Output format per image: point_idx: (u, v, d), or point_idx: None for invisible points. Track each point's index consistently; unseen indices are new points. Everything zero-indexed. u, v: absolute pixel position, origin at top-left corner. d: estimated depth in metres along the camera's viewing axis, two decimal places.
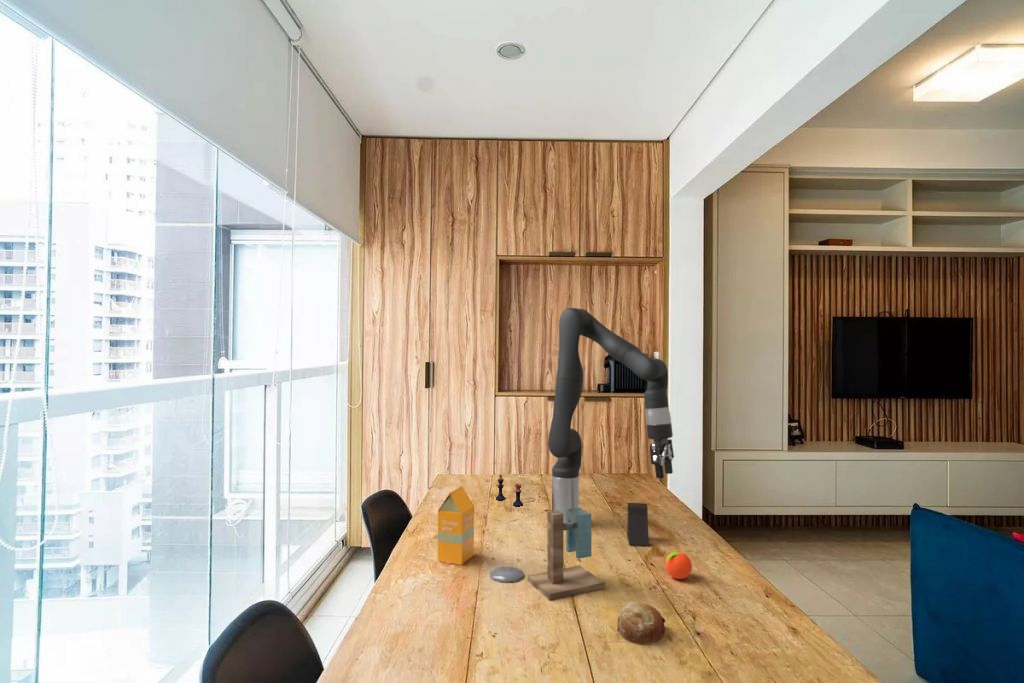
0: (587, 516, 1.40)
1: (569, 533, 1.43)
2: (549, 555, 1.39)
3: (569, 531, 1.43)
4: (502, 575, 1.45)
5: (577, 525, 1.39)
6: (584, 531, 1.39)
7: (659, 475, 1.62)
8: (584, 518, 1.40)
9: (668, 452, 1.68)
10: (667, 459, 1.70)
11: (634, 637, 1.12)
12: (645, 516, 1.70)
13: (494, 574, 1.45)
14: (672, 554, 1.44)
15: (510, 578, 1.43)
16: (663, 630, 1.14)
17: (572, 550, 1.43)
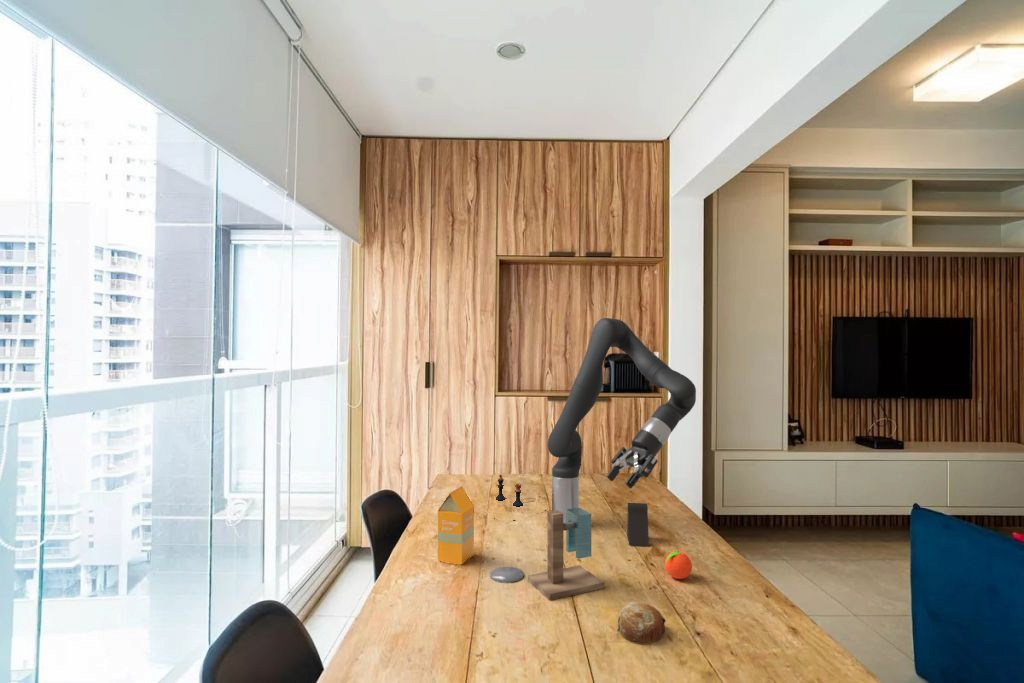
0: (587, 516, 1.40)
1: (569, 533, 1.43)
2: (549, 555, 1.39)
3: (569, 531, 1.43)
4: (502, 575, 1.45)
5: (577, 525, 1.39)
6: (584, 531, 1.39)
7: (632, 484, 1.43)
8: (584, 518, 1.40)
9: None
10: (618, 467, 1.53)
11: (634, 637, 1.12)
12: (645, 516, 1.70)
13: (494, 574, 1.45)
14: (672, 554, 1.44)
15: (510, 578, 1.43)
16: (663, 630, 1.14)
17: (572, 550, 1.43)
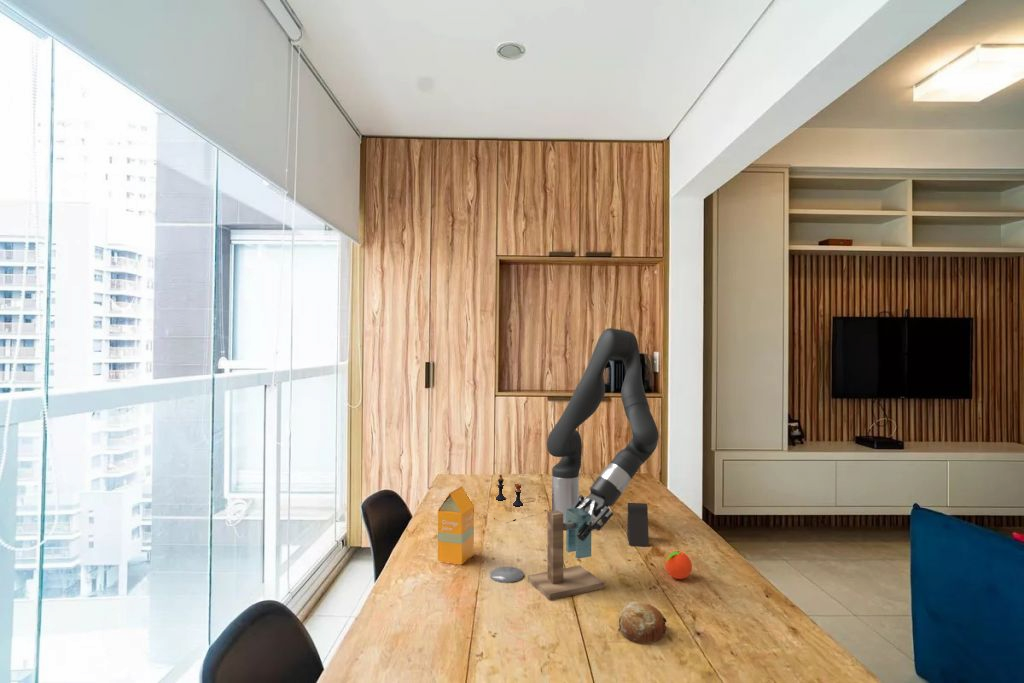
0: (587, 516, 1.40)
1: (569, 533, 1.43)
2: (549, 555, 1.39)
3: (569, 531, 1.43)
4: (502, 575, 1.45)
5: (577, 525, 1.39)
6: None
7: (584, 537, 1.38)
8: (584, 518, 1.40)
9: None
10: None
11: (635, 637, 1.12)
12: (645, 516, 1.70)
13: (494, 574, 1.45)
14: (672, 554, 1.44)
15: (510, 578, 1.43)
16: (664, 630, 1.15)
17: (572, 550, 1.43)
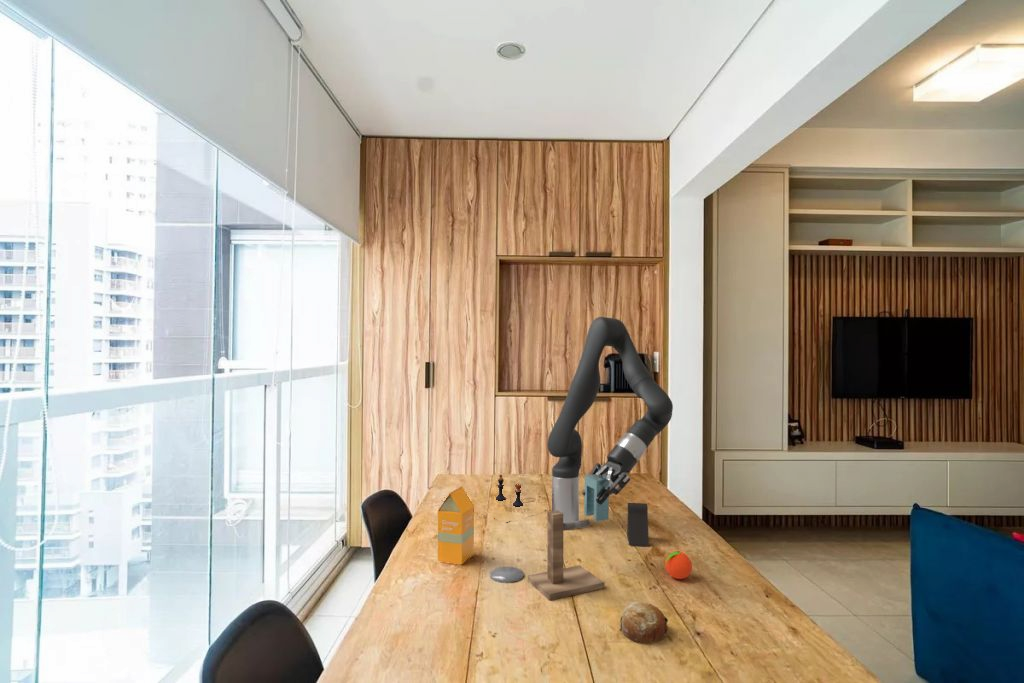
0: (605, 481, 1.47)
1: (587, 498, 1.50)
2: (549, 555, 1.39)
3: (587, 496, 1.50)
4: (502, 575, 1.45)
5: (596, 490, 1.46)
6: None
7: (602, 501, 1.45)
8: (603, 483, 1.46)
9: None
10: None
11: (637, 637, 1.12)
12: (645, 516, 1.70)
13: (494, 574, 1.45)
14: (672, 554, 1.44)
15: (510, 578, 1.43)
16: (666, 630, 1.15)
17: (590, 514, 1.50)
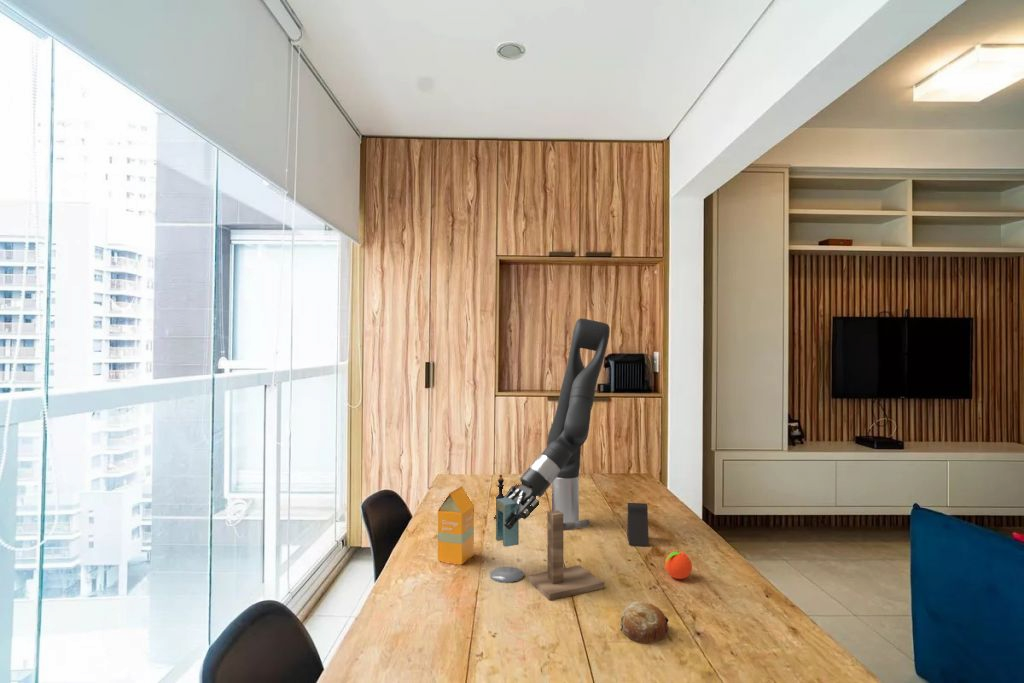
0: (514, 505, 1.44)
1: (498, 522, 1.47)
2: (549, 555, 1.39)
3: (498, 520, 1.47)
4: (502, 575, 1.45)
5: (504, 514, 1.43)
6: None
7: (510, 526, 1.42)
8: (511, 507, 1.43)
9: None
10: None
11: (637, 636, 1.13)
12: (645, 516, 1.70)
13: (494, 574, 1.45)
14: (672, 554, 1.44)
15: (510, 578, 1.43)
16: (666, 630, 1.15)
17: (501, 539, 1.47)
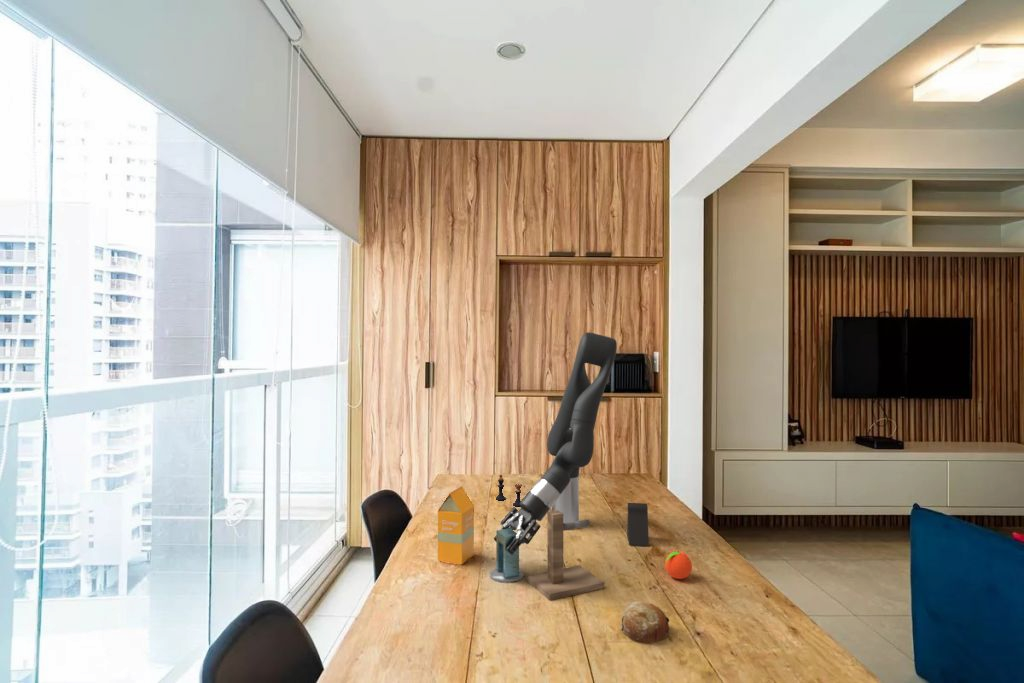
0: (515, 537, 1.44)
1: (499, 553, 1.47)
2: (549, 555, 1.39)
3: (499, 551, 1.47)
4: (502, 575, 1.45)
5: (504, 546, 1.43)
6: None
7: (513, 551, 1.41)
8: (512, 539, 1.43)
9: None
10: None
11: (638, 636, 1.13)
12: (645, 516, 1.70)
13: (494, 574, 1.45)
14: (672, 554, 1.44)
15: (510, 578, 1.43)
16: (667, 629, 1.15)
17: (502, 570, 1.47)
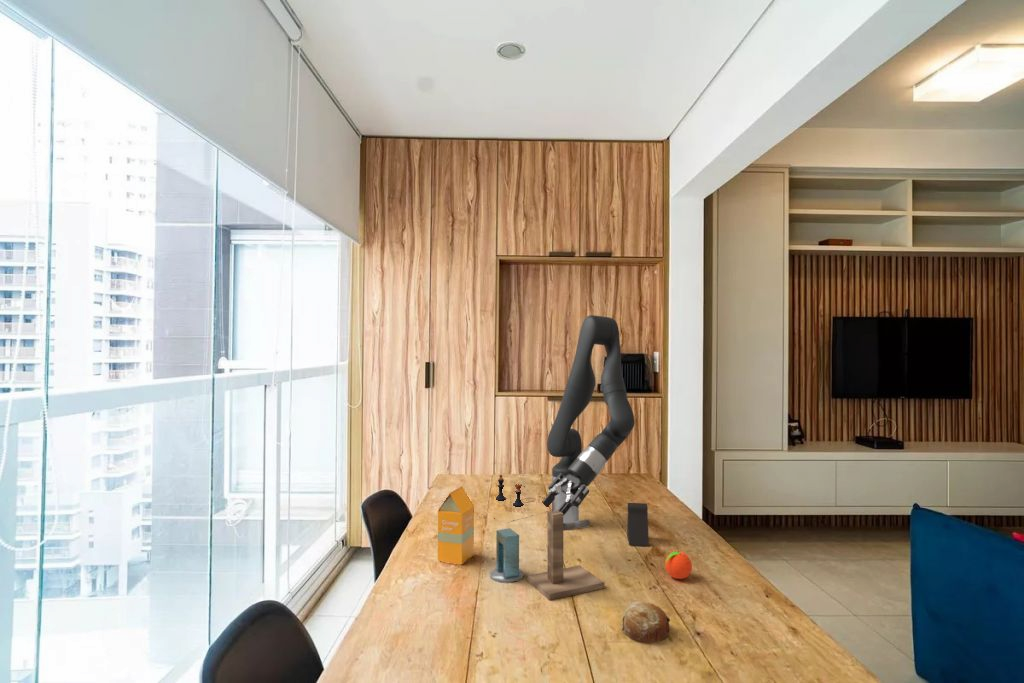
0: (515, 537, 1.44)
1: (499, 553, 1.47)
2: (549, 555, 1.39)
3: (499, 551, 1.47)
4: (502, 575, 1.45)
5: (504, 546, 1.43)
6: (511, 552, 1.43)
7: (563, 513, 1.48)
8: (512, 539, 1.43)
9: None
10: (554, 493, 1.57)
11: (639, 636, 1.13)
12: (645, 516, 1.70)
13: (494, 574, 1.45)
14: (672, 554, 1.44)
15: (510, 578, 1.43)
16: (668, 629, 1.15)
17: (502, 570, 1.47)
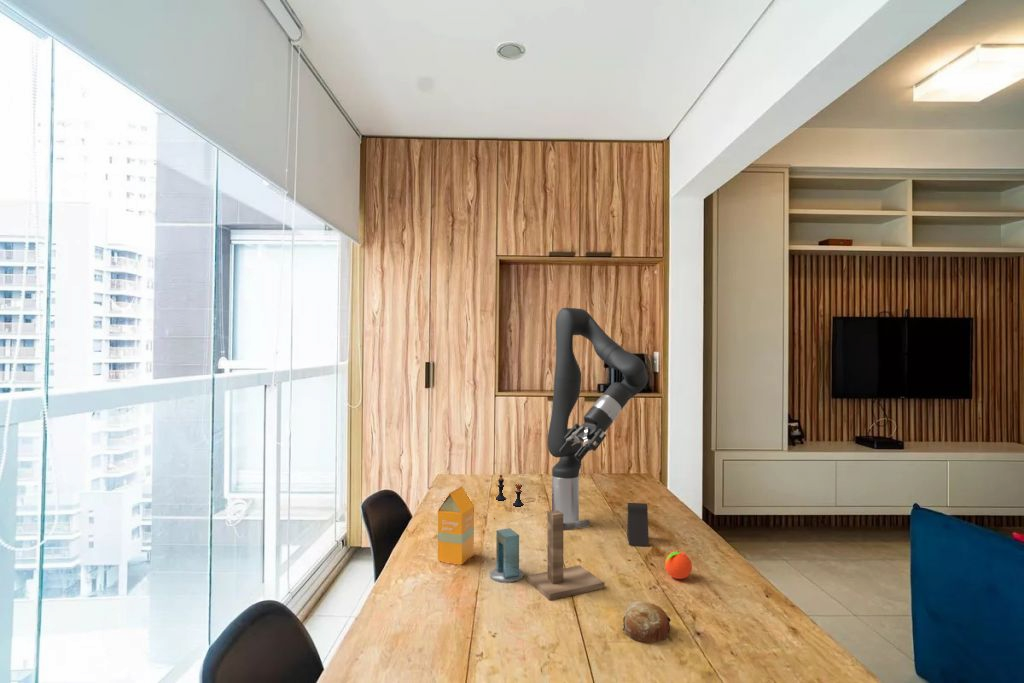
0: (515, 537, 1.44)
1: (499, 553, 1.47)
2: (549, 555, 1.39)
3: (499, 551, 1.47)
4: (502, 575, 1.45)
5: (504, 546, 1.43)
6: (511, 552, 1.43)
7: (581, 457, 1.50)
8: (512, 539, 1.43)
9: None
10: (571, 442, 1.59)
11: (640, 636, 1.13)
12: (645, 516, 1.70)
13: (494, 574, 1.45)
14: (672, 554, 1.44)
15: (510, 578, 1.43)
16: (669, 629, 1.15)
17: (502, 570, 1.47)
